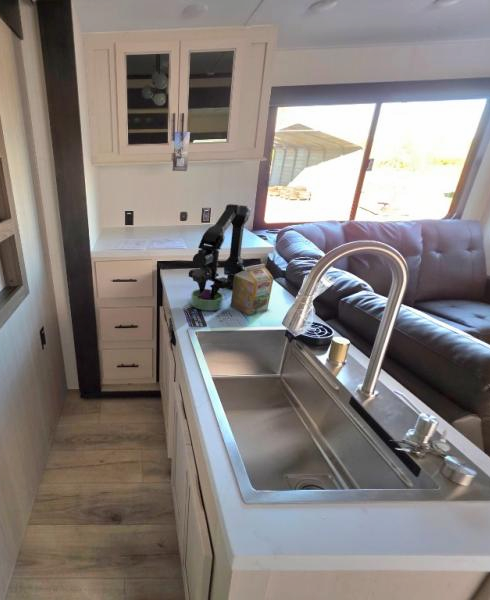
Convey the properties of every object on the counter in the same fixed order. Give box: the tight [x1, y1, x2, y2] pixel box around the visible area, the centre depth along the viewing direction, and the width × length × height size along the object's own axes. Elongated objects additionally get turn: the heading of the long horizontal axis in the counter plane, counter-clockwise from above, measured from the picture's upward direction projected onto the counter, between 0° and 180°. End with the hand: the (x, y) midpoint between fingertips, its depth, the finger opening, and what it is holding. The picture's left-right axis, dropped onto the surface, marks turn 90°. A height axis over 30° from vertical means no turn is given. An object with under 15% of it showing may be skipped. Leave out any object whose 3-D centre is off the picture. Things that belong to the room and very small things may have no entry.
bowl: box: [190, 288, 224, 312], centre depth 136 cm, size 13×13×5 cm
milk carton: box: [229, 263, 274, 316], centre depth 130 cm, size 11×11×19 cm
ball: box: [201, 288, 212, 300], centre depth 135 cm, size 5×5×5 cm
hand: (207, 296), depth 135 cm, fingers open, 5 cm apart
